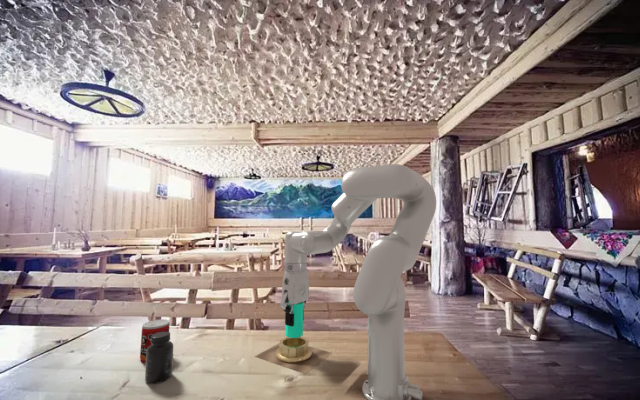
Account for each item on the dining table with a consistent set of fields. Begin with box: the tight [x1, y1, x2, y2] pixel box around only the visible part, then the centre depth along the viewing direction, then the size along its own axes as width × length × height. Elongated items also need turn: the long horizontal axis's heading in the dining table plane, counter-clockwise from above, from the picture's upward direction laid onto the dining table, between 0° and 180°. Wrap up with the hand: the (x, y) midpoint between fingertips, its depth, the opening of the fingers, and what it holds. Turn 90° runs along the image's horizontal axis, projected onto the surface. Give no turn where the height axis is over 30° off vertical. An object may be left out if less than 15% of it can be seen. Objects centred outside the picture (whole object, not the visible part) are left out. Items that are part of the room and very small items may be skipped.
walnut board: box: [254, 343, 332, 375], centre depth 91 cm, size 20×16×2 cm
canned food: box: [139, 318, 171, 363], centre depth 92 cm, size 8×8×11 cm
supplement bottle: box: [144, 331, 174, 385], centre depth 80 cm, size 7×7×12 cm
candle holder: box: [276, 336, 312, 363], centre depth 91 cm, size 12×12×4 cm
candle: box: [284, 302, 304, 338], centre depth 92 cm, size 6×6×12 cm
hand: (294, 322), depth 92 cm, fingers closed on candle, 4 cm apart
